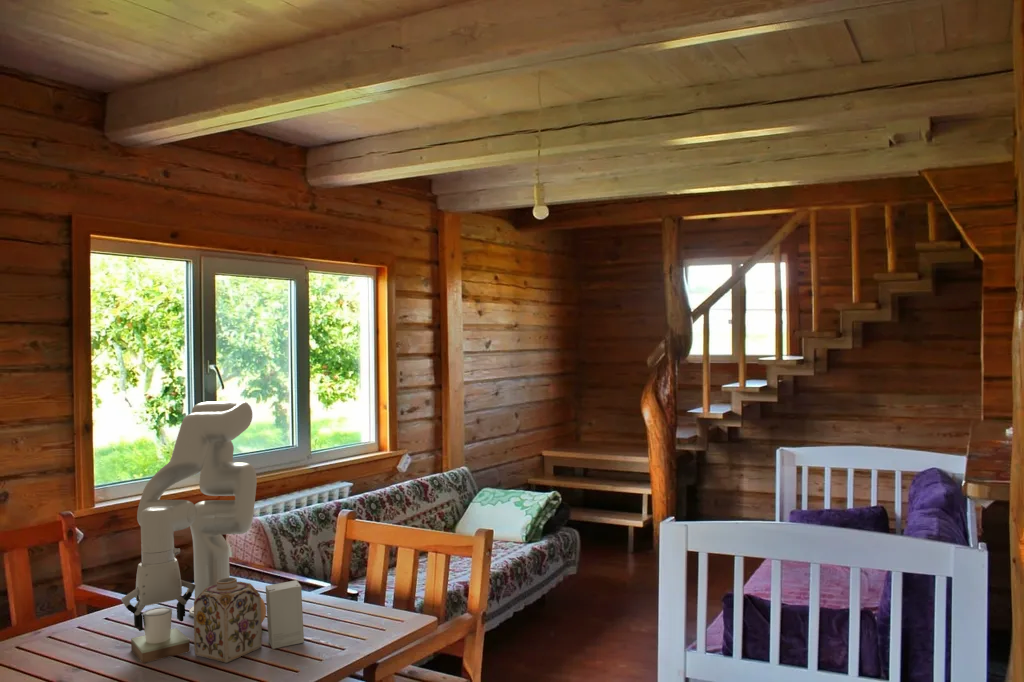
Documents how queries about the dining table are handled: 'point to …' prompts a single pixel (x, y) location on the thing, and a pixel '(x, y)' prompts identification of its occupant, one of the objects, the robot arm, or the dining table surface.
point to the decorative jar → (227, 620)
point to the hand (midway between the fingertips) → (160, 624)
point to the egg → (263, 610)
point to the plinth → (160, 647)
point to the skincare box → (284, 614)
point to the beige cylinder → (157, 624)
